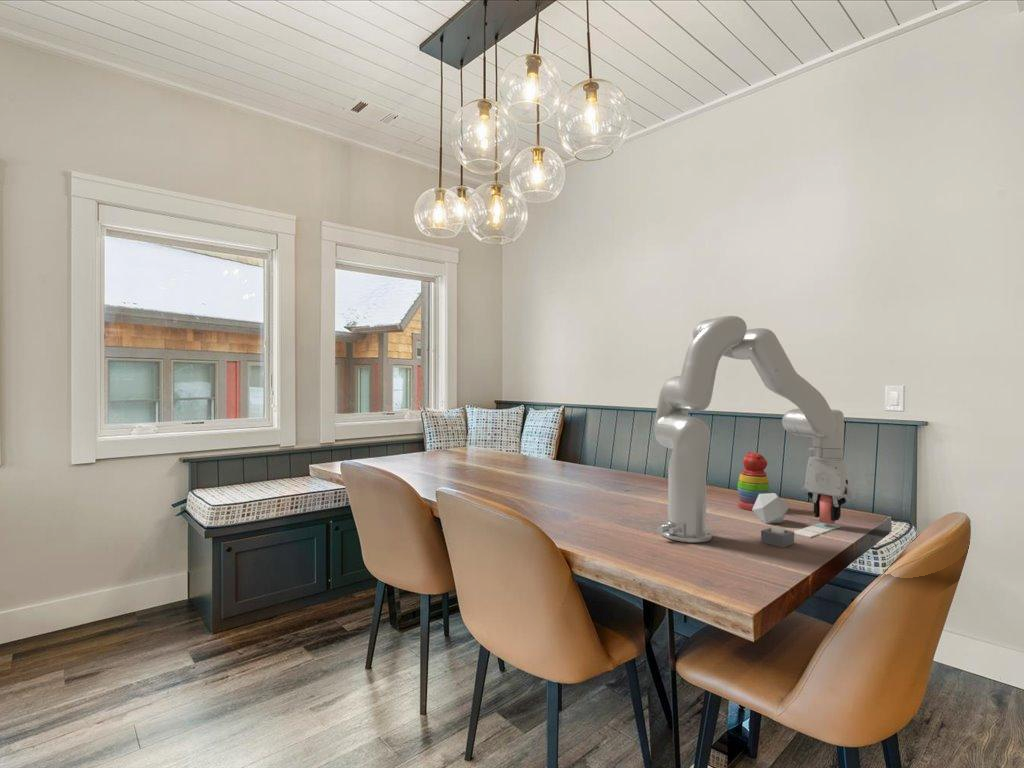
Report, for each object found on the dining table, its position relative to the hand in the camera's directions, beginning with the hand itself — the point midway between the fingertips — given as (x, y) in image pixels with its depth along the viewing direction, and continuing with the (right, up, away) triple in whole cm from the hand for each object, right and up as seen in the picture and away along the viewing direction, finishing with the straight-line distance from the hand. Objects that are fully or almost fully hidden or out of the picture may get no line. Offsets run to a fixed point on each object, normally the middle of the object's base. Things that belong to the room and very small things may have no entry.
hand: (826, 517), depth 154 cm
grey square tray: (-21, -3, -15) cm, 26 cm away
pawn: (0, -1, 0) cm, 1 cm away
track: (-7, -3, -5) cm, 9 cm away
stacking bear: (-11, -2, +22) cm, 24 cm away
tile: (0, -3, 0) cm, 3 cm away
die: (-13, -3, +5) cm, 15 cm away
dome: (-21, -2, -15) cm, 26 cm away
